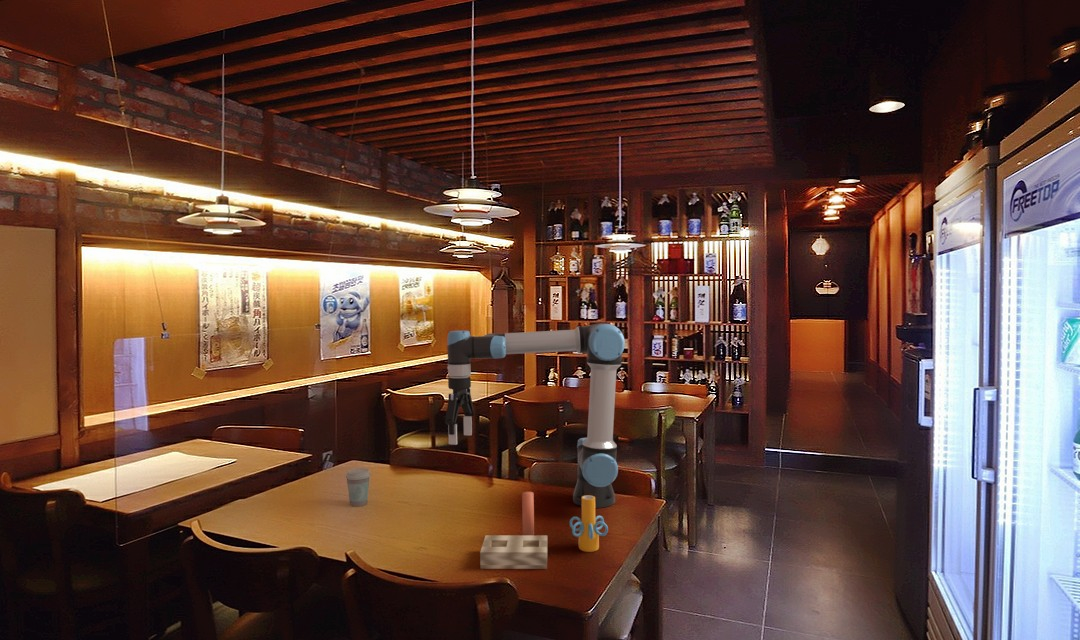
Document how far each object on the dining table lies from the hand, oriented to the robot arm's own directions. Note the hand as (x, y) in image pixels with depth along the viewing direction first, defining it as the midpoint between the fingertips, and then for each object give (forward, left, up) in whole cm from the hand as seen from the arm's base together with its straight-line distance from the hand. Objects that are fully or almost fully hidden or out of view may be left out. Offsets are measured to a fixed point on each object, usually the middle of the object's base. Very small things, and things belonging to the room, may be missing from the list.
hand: (460, 439), depth 205 cm
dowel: (-23, +19, -26) cm, 40 cm away
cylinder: (-41, +26, -27) cm, 56 cm away
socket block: (-20, +34, -26) cm, 47 cm away
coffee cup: (+40, -13, -27) cm, 49 cm away
